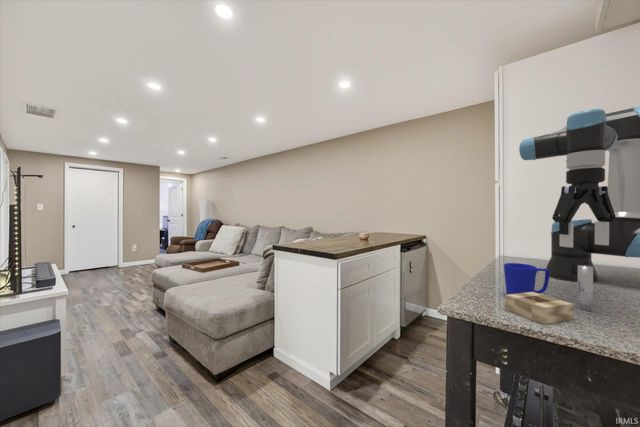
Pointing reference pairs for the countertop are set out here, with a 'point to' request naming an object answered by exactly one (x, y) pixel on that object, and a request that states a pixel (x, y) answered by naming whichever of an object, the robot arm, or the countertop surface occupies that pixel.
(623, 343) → the countertop surface
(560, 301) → the hole block
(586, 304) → the peg
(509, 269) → the mug
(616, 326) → the countertop surface
